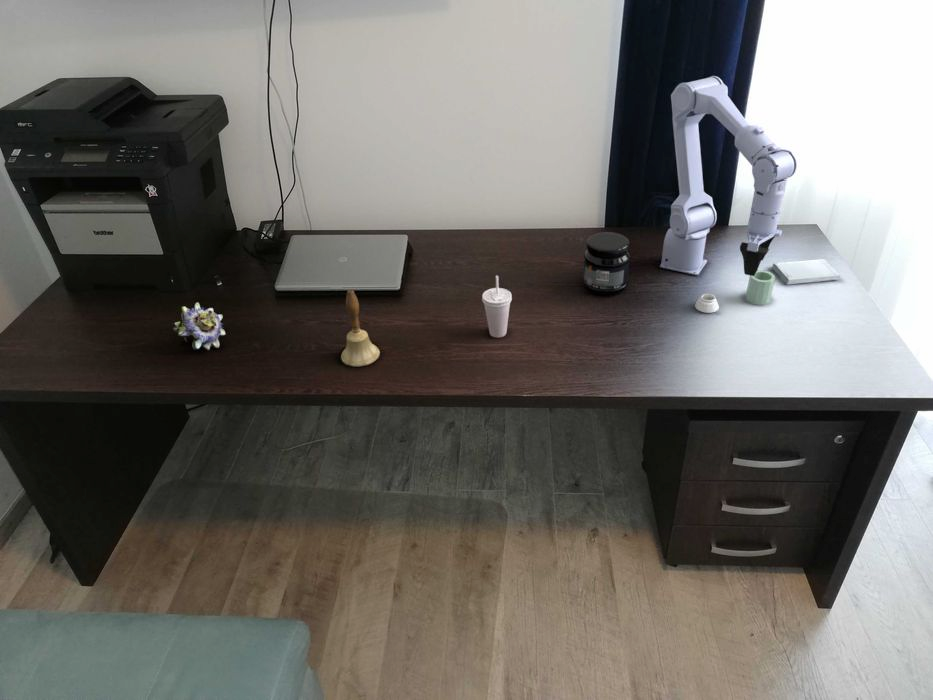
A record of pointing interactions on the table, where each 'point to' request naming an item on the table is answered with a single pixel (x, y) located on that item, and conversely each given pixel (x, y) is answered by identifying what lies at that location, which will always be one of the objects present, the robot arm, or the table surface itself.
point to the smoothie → (497, 309)
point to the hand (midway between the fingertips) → (753, 266)
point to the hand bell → (357, 338)
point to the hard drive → (805, 271)
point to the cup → (760, 287)
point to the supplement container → (606, 263)
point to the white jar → (707, 303)
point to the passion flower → (200, 327)
